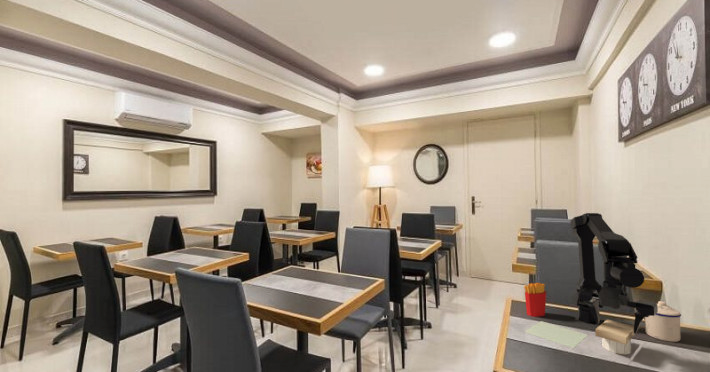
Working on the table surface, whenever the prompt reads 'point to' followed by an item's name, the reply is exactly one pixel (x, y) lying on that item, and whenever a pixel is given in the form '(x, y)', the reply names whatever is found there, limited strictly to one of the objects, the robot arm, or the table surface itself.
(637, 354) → the table surface
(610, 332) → the beige flat block
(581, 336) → the mat
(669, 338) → the teacup with lid
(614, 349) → the bowl
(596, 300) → the robot arm
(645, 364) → the table surface
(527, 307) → the french fries
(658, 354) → the table surface
